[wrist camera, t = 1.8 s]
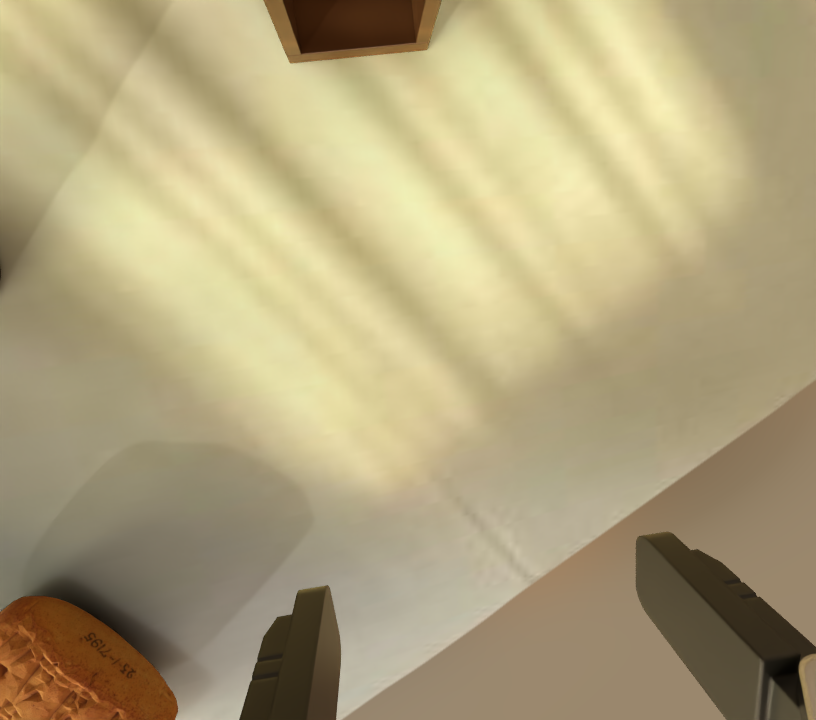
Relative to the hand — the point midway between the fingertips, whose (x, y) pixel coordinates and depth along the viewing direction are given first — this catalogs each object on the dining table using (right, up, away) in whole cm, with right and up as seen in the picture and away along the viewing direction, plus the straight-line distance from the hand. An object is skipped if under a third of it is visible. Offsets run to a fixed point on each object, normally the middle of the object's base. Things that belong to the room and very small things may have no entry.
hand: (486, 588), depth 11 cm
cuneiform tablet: (-39, -29, +39) cm, 62 cm away
